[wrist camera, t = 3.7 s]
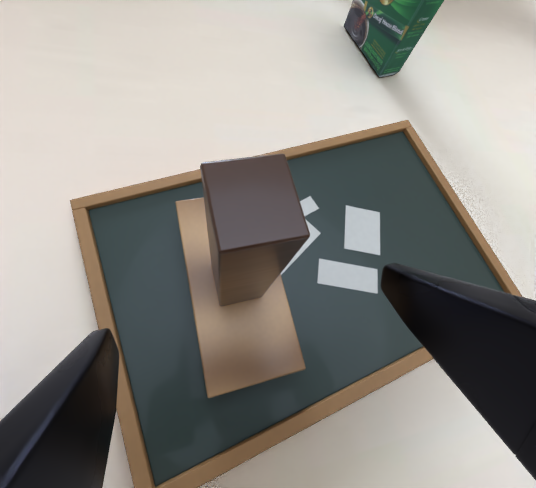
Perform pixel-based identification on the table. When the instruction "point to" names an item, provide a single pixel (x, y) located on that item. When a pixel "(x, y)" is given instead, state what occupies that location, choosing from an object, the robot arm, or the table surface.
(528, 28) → the table surface
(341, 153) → the slate board
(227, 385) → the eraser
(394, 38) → the coffee box
